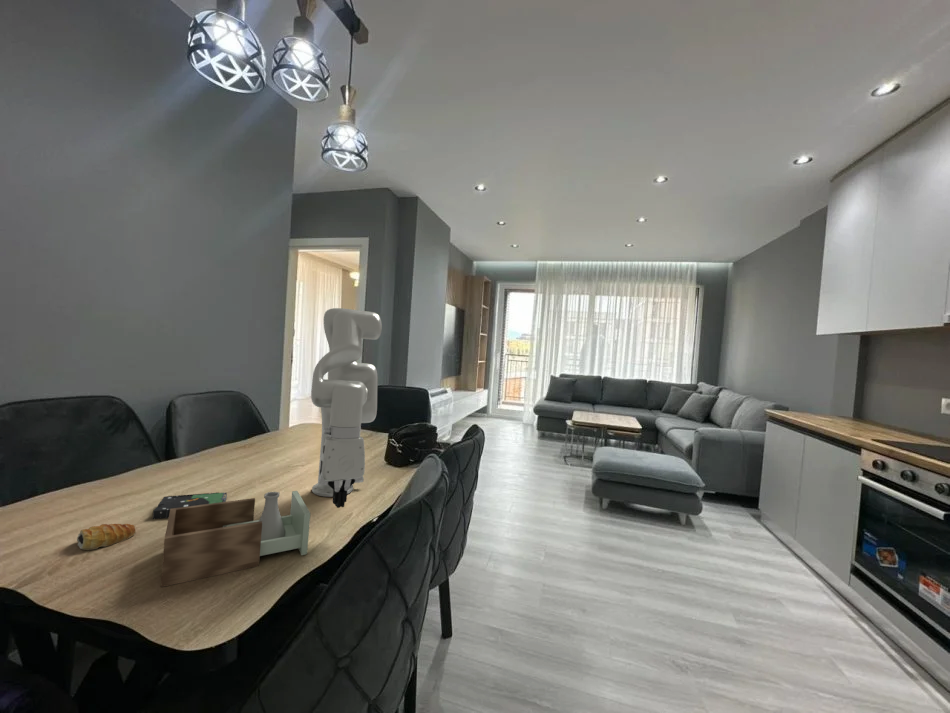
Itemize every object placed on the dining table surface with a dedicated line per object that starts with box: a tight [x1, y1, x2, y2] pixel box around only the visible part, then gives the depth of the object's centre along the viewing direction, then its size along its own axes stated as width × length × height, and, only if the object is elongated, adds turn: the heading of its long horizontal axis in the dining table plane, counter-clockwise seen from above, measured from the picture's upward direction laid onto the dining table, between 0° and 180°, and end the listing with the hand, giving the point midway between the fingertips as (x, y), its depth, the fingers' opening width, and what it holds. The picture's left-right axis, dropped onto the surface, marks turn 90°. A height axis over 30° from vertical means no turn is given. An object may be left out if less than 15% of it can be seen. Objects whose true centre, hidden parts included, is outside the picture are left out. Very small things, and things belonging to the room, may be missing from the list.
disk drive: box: [152, 491, 228, 520], centre depth 105 cm, size 10×3×15 cm
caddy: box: [160, 497, 262, 588], centre depth 82 cm, size 16×15×9 cm
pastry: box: [76, 523, 137, 551], centre depth 86 cm, size 9×7×4 cm
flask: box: [258, 491, 286, 541], centre depth 88 cm, size 7×7×10 cm
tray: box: [223, 490, 311, 557], centre depth 88 cm, size 16×15×9 cm
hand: (339, 505), depth 97 cm, fingers closed
